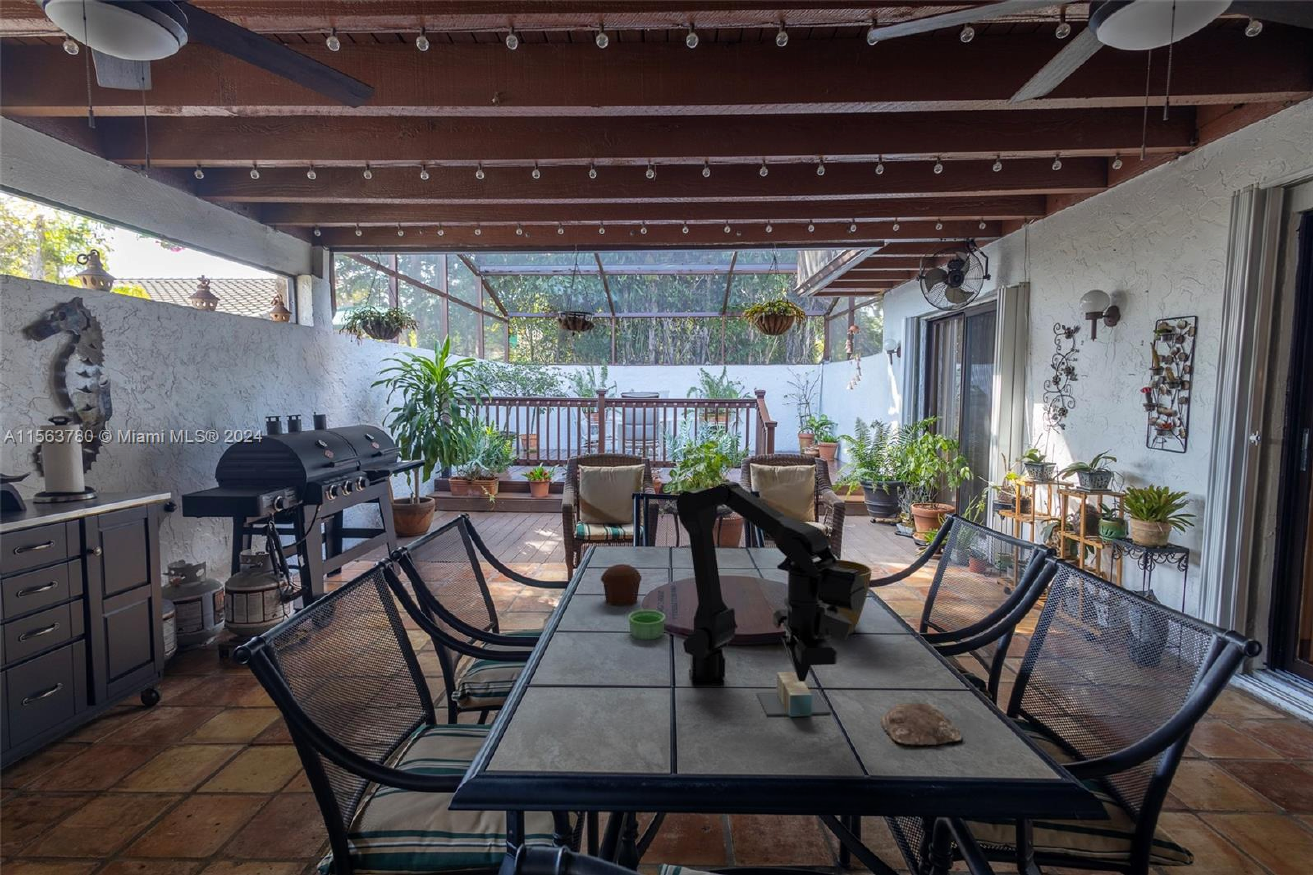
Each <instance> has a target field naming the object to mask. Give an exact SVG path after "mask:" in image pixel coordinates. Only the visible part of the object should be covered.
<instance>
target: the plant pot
mask: <svg viewBox="0 0 1313 875" xmlns="http://www.w3.org/2000/svg"><path fill="white" fill-rule="evenodd" d="M836 560H837V562H838V566H836V567H839V568H844V569H854V570H859V571H860V578H861V579H862V580H863V583H864V587H865V598H864V602H863V604H862V607H861V608H860V610H859V611H857V612H854V611H850V610H847V609H843V608H839V607H837V608H838V613H841V614H842V615H844V616H845V617H846V618H847V619H848V620H849V621H850V622H851V623H852V626H851V629H850V631H849V634H848V635H851V634H853V633H854V632H855V629H856V627H857V625H858V622H859V620H860V617H861V615H862V613H863V611H864V610H863V609H864V606H865V603H866V600H867V595H868V591H869V587H870V583H871V578H872V571H873V570H872V568H871V567H869V565H866V564H864V563H860V562H856V561H851V560H845V559H836ZM813 561H814V563H815V562H817V561H819V560H813ZM820 604H821V605H822V606H824V605H825V604H824V603H823V602H822V601H821V600H820Z"/></svg>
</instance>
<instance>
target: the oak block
mask: <svg viewBox="0 0 1313 875" xmlns="http://www.w3.org/2000/svg"><path fill="white" fill-rule="evenodd" d="M810 691H811V690H810V689H809V688H808V687H807V685H806V683H805V681H803V682H800V681H799V680H798V678H797V676H796V673H795V671H786V672H784V671H783V672H782V671H781V672H780V671H779V672H777V674H776V692H777V693H778V695H779V697H780V699H781V701H782V703H783V705H784V706H785V708H786V710H787V712H788V714H789V715H788V716H789V717H811V716H812V715H811V711H812V694H811V693H810Z"/></svg>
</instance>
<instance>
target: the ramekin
mask: <svg viewBox="0 0 1313 875" xmlns="http://www.w3.org/2000/svg"><path fill="white" fill-rule="evenodd" d="M665 620H666V615H665V614H664V613H663V612H661V611H658V610H653V609H641V610H636V611H633V612H631V613H629V615H628V621H629V630H630V635H631V636H633V638H636V639H637V640H638V639H640V640H645V641H646V640H647V641H649V640H655V639H658V638H660V637H662V636H663V634H664V628H665Z"/></svg>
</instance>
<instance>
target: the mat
mask: <svg viewBox="0 0 1313 875" xmlns="http://www.w3.org/2000/svg"><path fill="white" fill-rule="evenodd" d="M809 691H810V693H811V694H812V711H811V714H817V715H831V711H830V709H829V707H828V706H827V705H826V703H825V702H824V700H823V699H822V696H820V694H819V693H818V691H817V690H809ZM756 697H757V698H758V700H759V703H760V704H761V707H762V709H763V710H764V713H765V715H766V717H777V716H776V715H785V716H789V714H788V712H787V710H786V708H785V706H784V705H783V703H782V701H781V699H780V697H779V695H778V693H777V691H758V692H756ZM774 715H775V716H774Z"/></svg>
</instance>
